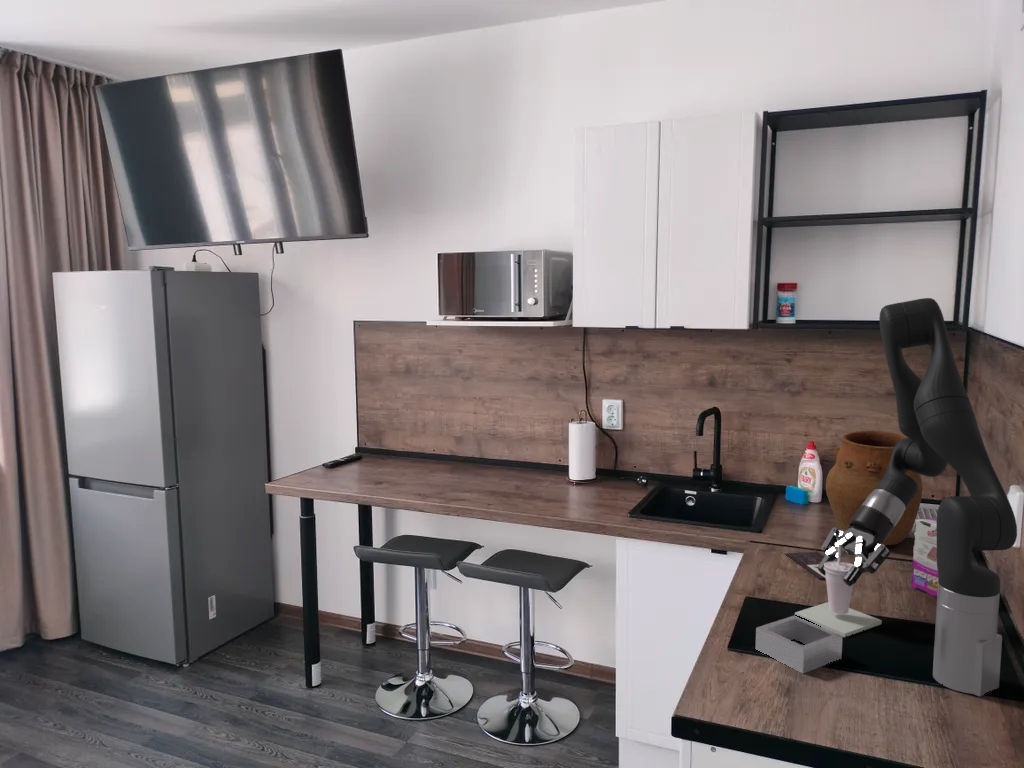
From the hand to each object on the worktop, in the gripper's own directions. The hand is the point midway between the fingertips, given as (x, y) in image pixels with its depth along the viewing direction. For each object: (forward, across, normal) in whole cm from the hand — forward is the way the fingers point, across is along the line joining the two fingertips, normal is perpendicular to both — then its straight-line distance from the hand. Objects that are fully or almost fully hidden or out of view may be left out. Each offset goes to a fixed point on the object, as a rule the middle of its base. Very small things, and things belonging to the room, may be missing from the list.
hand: (833, 577), depth 159 cm
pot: (-29, -36, +43) cm, 63 cm away
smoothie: (+4, 0, +6) cm, 8 cm away
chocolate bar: (-8, -26, +23) cm, 36 cm away
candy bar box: (-17, -2, +31) cm, 35 cm away
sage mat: (+6, 0, +8) cm, 10 cm away
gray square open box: (+19, +9, -6) cm, 22 cm away
